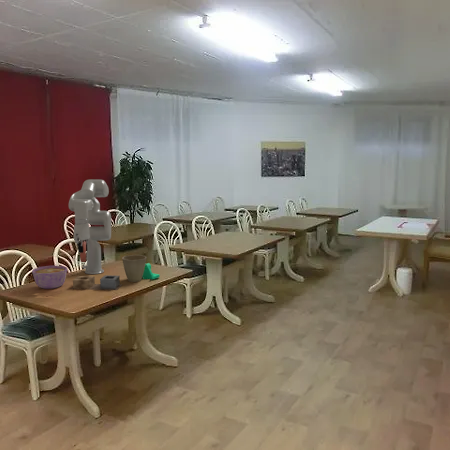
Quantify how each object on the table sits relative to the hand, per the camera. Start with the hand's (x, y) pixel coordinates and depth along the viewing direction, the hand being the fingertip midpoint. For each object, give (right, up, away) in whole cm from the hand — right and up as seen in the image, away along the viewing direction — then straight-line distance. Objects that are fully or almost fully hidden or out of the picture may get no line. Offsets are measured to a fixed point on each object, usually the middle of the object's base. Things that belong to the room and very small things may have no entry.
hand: (82, 251), depth 278 cm
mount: (0, -21, +3) cm, 21 cm away
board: (+8, -23, +3) cm, 24 cm away
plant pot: (+28, -21, +18) cm, 39 cm away
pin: (0, -6, +1) cm, 6 cm away
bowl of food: (-20, -23, +3) cm, 31 cm away
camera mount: (+35, -19, +28) cm, 49 cm away
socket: (+16, -22, +2) cm, 27 cm away
